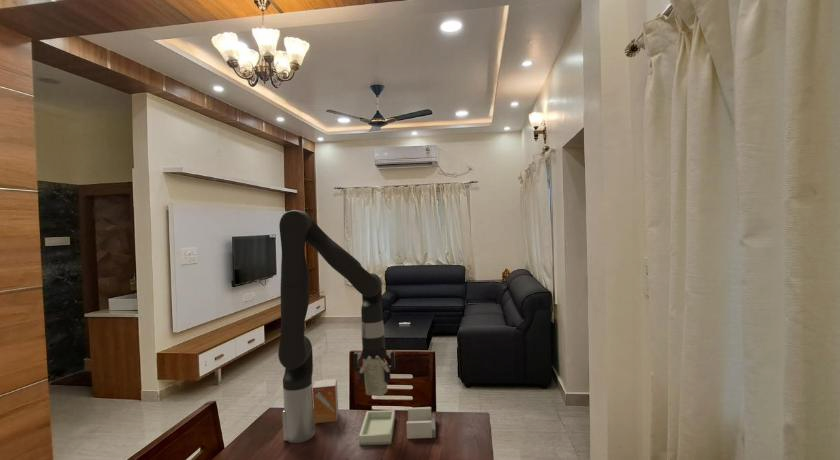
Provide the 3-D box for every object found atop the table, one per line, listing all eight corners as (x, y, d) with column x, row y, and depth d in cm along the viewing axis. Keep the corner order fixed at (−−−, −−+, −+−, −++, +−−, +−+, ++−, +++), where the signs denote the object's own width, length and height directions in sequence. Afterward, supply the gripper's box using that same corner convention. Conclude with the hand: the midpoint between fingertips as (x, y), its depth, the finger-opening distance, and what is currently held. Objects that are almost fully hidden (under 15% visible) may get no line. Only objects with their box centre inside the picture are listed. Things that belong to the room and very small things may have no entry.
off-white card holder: (407, 438, 125) (406, 423, 125) (408, 421, 136) (408, 407, 136) (435, 437, 125) (435, 422, 125) (435, 420, 136) (434, 406, 135)
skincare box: (388, 391, 131) (385, 355, 131) (381, 396, 127) (378, 359, 127) (371, 389, 134) (368, 353, 133) (364, 394, 130) (362, 358, 129)
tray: (359, 445, 123) (358, 436, 123) (367, 419, 139) (366, 411, 139) (391, 444, 123) (390, 434, 123) (395, 418, 139) (394, 410, 139)
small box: (314, 424, 137) (312, 387, 137) (316, 415, 144) (314, 380, 143) (337, 421, 138) (335, 385, 138) (338, 412, 145) (336, 378, 144)
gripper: (349, 338, 126) (352, 388, 127) (393, 336, 126) (396, 386, 126) (353, 331, 134) (356, 379, 134) (395, 329, 134) (397, 377, 134)
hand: (375, 382), depth 130 cm, fingers closed on skincare box, 7 cm apart
